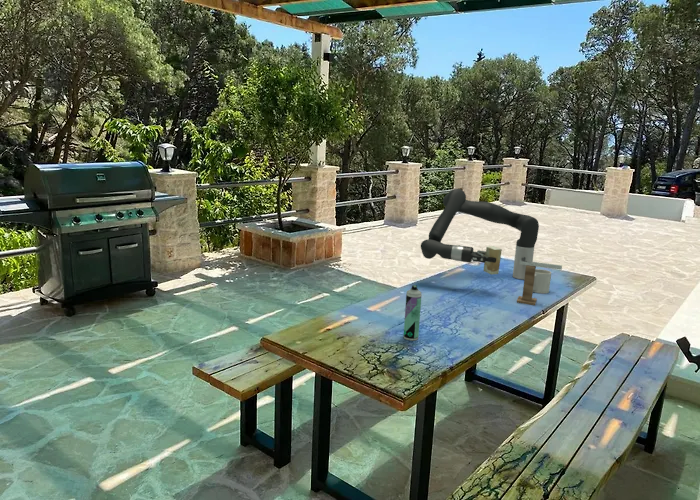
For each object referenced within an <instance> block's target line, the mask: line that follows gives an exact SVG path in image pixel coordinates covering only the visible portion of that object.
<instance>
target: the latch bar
mask: <svg viewBox="0 0 700 500" xmlns="http://www.w3.org/2000/svg"><path fill="white" fill-rule="evenodd" d="M525 260H526V258H525V257H522V259H521V260H520V262H519V264H522V265H529V266H536V268H537V267H539V268H544V269H545V268H546V269H552V270H560V271H561V270H562V269H563V265H562V264H561V265H560V264H552V263H546V262H545V263H544V262H540V261H539V262H537V261H533V262H531V261H525Z"/></svg>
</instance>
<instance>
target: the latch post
mask: <svg viewBox="0 0 700 500" xmlns="http://www.w3.org/2000/svg"><path fill="white" fill-rule="evenodd" d="M536 269H537V266H529V265H526V270H525V278H524V281H523V287H522V288H523V289H522V295H519V296H518V297H517V299H516V304H523V305H529V306H536V304H537V301H538V299H537V298H535V297H533V295H534V294H533V293H534V292H533V286H534V278H535V270H536Z"/></svg>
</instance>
